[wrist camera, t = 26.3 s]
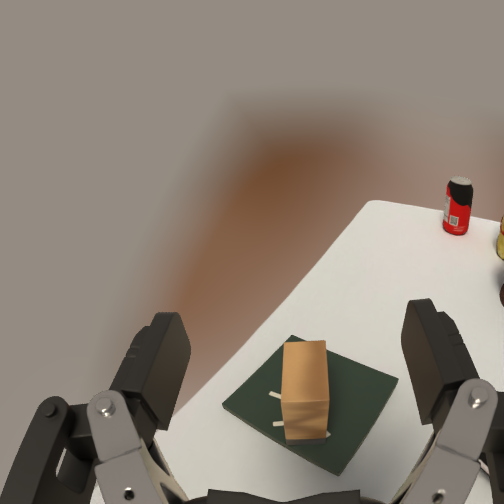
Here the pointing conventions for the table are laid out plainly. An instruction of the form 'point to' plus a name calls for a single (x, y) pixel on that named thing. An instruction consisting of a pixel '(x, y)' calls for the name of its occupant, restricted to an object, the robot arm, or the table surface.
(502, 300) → the black sphere on stand
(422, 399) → the robot arm
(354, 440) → the slate board
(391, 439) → the table surface
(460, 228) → the beverage can
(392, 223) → the table surface
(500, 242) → the yellow tapered piece
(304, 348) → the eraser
